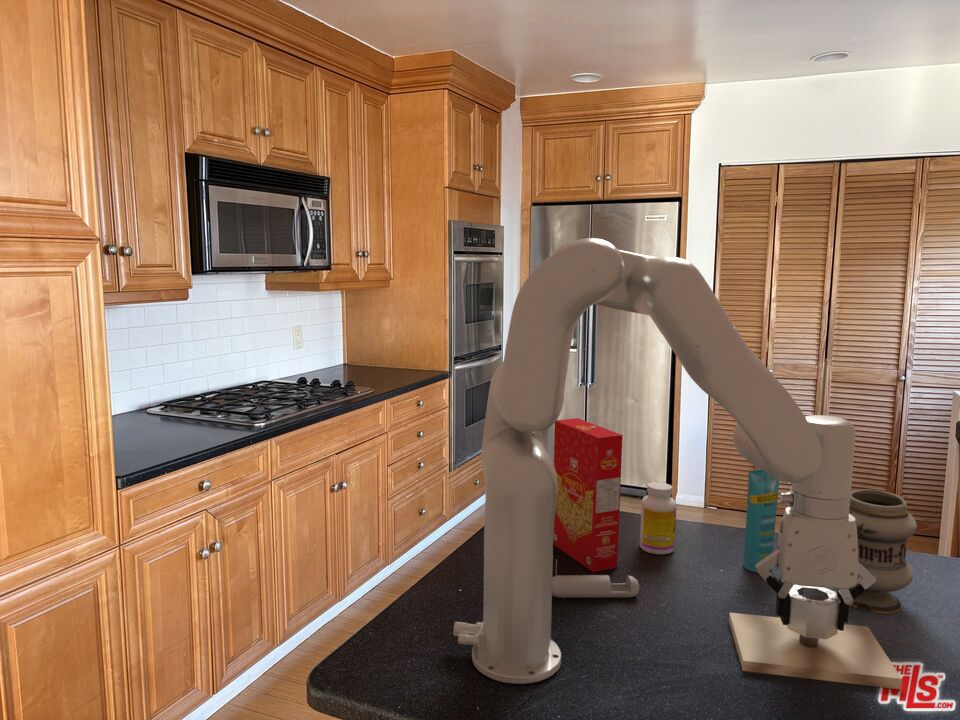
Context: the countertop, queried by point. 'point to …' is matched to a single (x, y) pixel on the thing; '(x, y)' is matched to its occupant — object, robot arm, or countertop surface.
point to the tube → (760, 517)
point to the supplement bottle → (658, 519)
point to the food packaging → (587, 492)
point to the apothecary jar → (882, 547)
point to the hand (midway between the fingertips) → (810, 622)
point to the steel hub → (813, 611)
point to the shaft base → (812, 653)
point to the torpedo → (592, 586)
